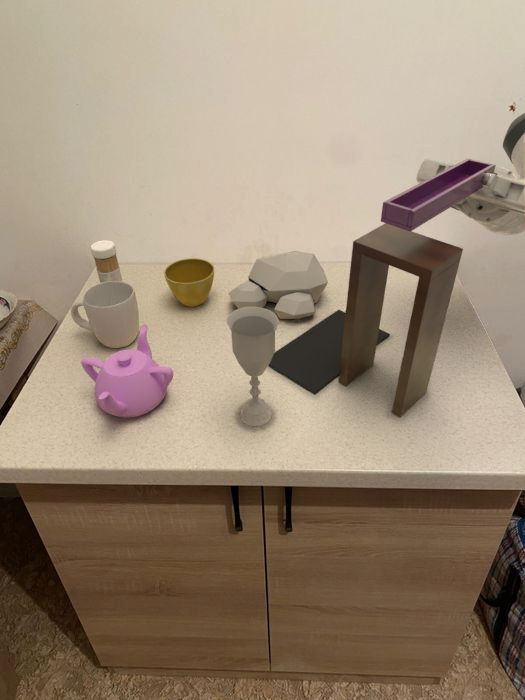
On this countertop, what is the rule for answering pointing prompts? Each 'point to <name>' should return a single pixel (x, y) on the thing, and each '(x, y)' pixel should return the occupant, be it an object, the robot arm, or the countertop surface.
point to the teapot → (129, 380)
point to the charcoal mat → (315, 354)
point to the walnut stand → (427, 314)
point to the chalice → (253, 355)
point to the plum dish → (435, 194)
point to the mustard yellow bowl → (190, 280)
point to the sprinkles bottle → (106, 261)
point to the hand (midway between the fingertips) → (467, 174)
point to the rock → (283, 284)
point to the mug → (110, 313)
